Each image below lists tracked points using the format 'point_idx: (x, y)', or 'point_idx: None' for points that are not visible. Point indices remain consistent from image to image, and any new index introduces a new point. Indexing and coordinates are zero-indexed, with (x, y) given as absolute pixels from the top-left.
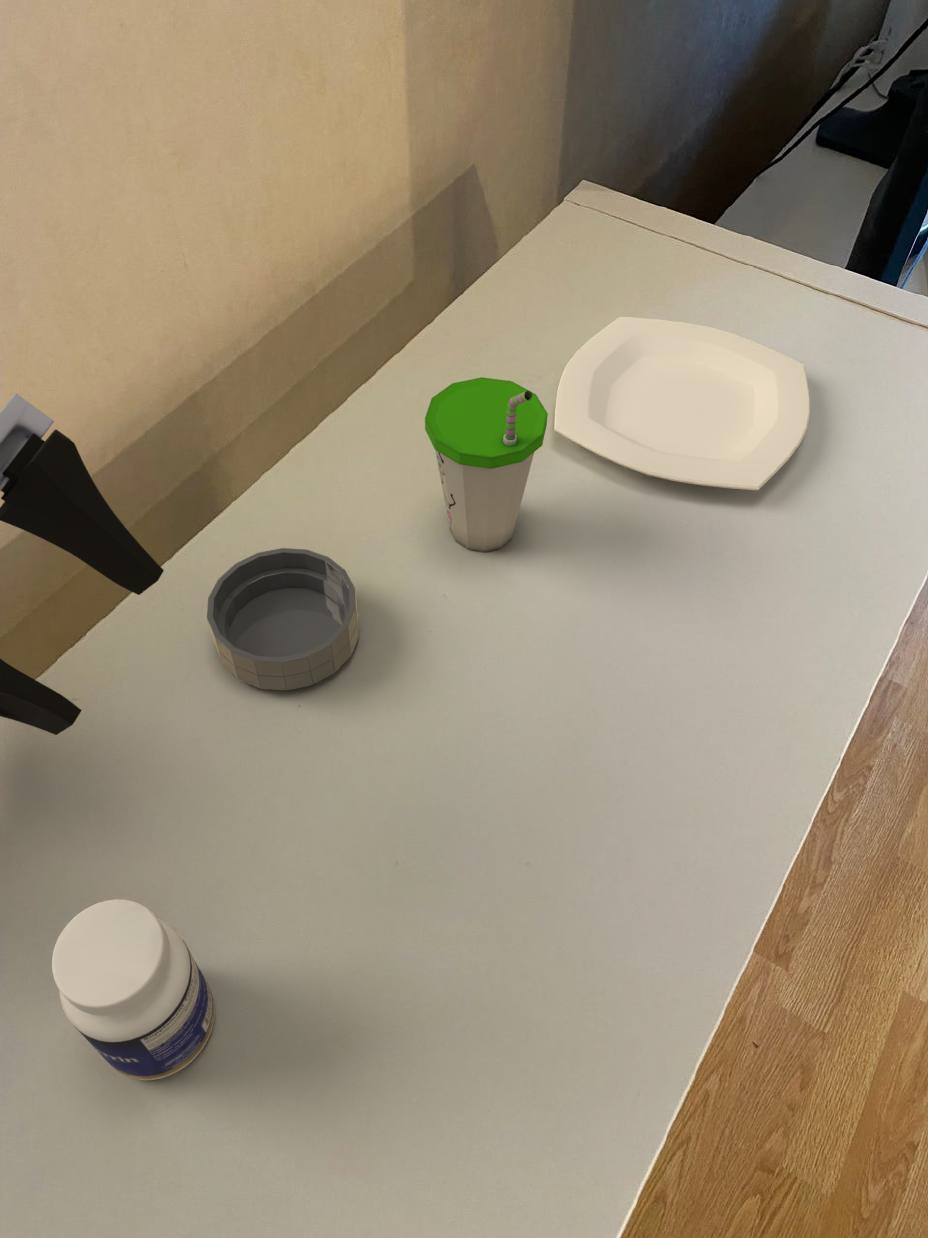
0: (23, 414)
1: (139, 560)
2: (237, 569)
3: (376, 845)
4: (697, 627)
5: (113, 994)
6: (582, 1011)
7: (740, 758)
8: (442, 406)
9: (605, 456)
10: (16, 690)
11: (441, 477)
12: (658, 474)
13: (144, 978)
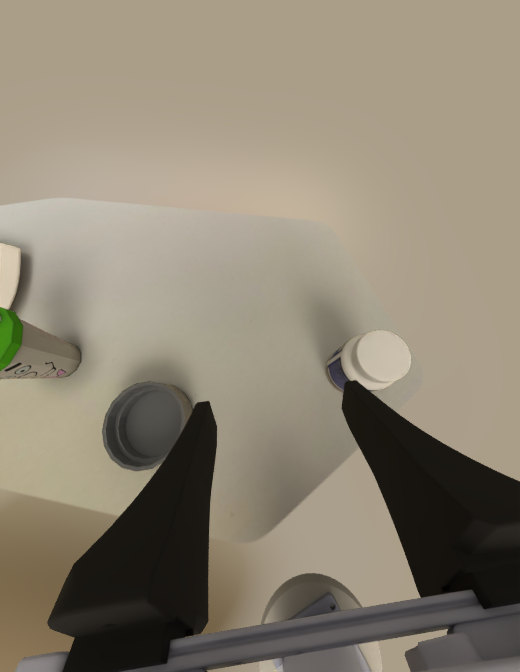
0: None
1: (202, 416)
2: (126, 464)
3: (247, 331)
4: (106, 257)
5: (397, 340)
6: (274, 246)
7: (164, 229)
8: None
9: None
10: (393, 412)
11: (32, 373)
12: (15, 288)
13: (384, 332)
